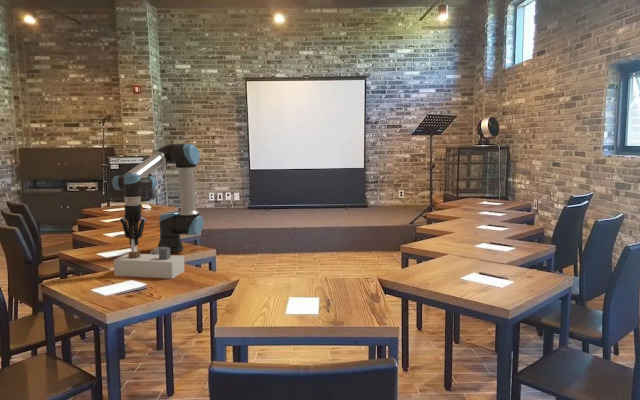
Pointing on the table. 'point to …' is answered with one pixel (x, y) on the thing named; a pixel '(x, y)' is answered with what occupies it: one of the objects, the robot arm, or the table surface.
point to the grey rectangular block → (149, 266)
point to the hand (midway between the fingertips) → (134, 251)
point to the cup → (156, 250)
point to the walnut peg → (134, 254)
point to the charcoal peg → (164, 253)
